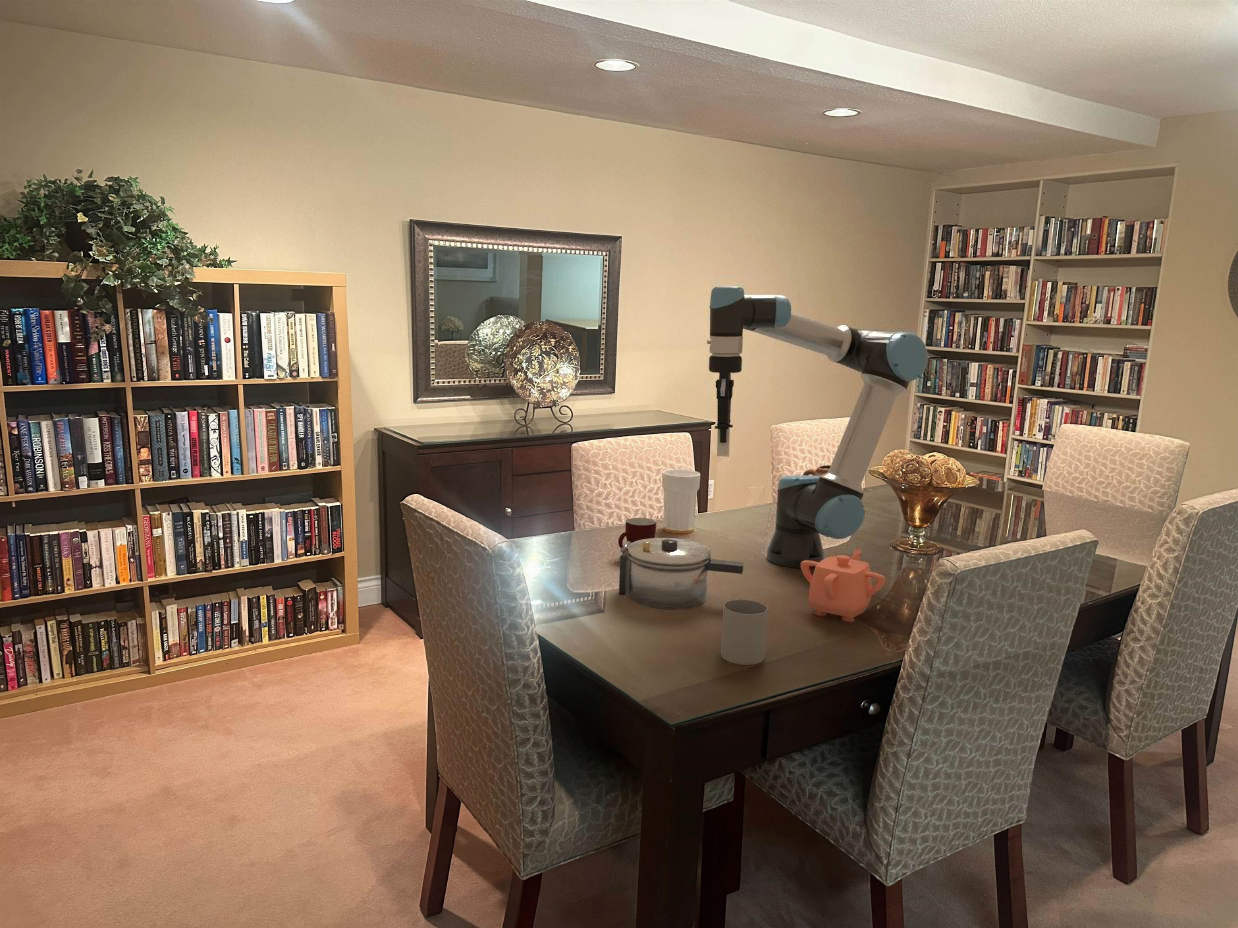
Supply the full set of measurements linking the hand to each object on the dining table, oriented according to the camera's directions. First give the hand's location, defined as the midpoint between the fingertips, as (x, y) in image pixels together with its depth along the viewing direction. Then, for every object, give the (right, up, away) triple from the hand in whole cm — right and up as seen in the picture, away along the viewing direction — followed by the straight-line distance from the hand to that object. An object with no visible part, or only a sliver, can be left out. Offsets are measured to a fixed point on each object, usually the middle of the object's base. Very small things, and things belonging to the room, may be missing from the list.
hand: (723, 455), depth 205 cm
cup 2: (0, -39, -36) cm, 53 cm away
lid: (-14, -23, -5) cm, 27 cm away
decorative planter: (+47, -17, +96) cm, 108 cm away
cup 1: (-7, -22, +57) cm, 62 cm away
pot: (-10, -33, -3) cm, 35 cm away
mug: (-20, -27, +26) cm, 43 cm away
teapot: (+25, -35, -9) cm, 44 cm away
